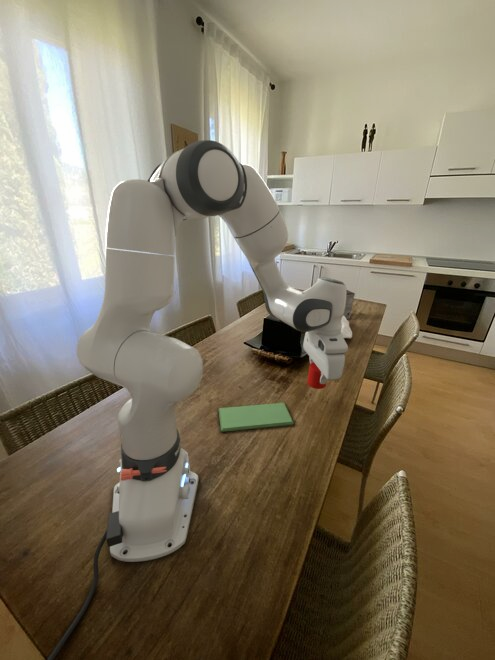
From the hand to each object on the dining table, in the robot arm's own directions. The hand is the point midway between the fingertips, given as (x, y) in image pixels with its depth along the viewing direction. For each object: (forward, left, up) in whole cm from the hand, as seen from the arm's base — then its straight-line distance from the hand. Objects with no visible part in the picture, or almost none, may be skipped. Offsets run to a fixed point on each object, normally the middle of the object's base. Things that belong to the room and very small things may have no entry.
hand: (317, 376), depth 85 cm
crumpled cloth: (+60, -33, -14) cm, 70 cm away
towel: (0, +19, -14) cm, 23 cm away
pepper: (0, 0, -3) cm, 3 cm away
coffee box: (+83, -52, -14) cm, 99 cm away
